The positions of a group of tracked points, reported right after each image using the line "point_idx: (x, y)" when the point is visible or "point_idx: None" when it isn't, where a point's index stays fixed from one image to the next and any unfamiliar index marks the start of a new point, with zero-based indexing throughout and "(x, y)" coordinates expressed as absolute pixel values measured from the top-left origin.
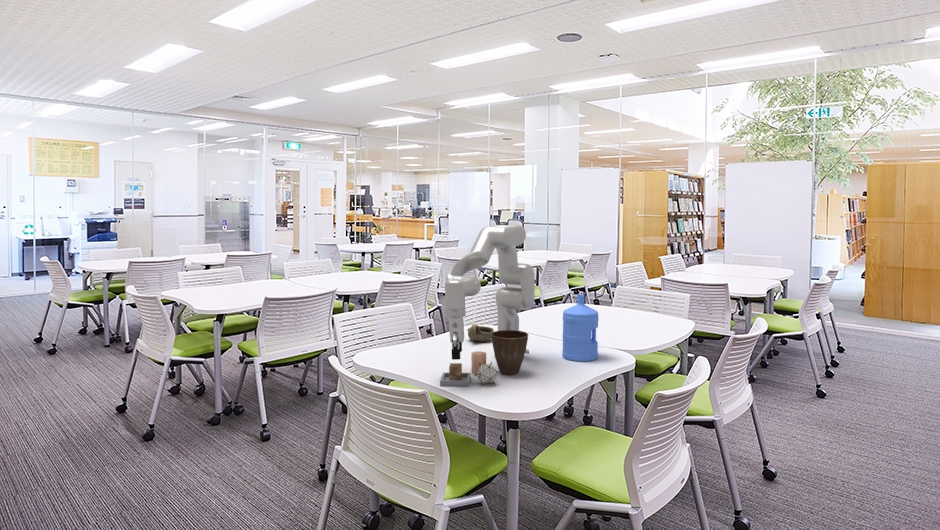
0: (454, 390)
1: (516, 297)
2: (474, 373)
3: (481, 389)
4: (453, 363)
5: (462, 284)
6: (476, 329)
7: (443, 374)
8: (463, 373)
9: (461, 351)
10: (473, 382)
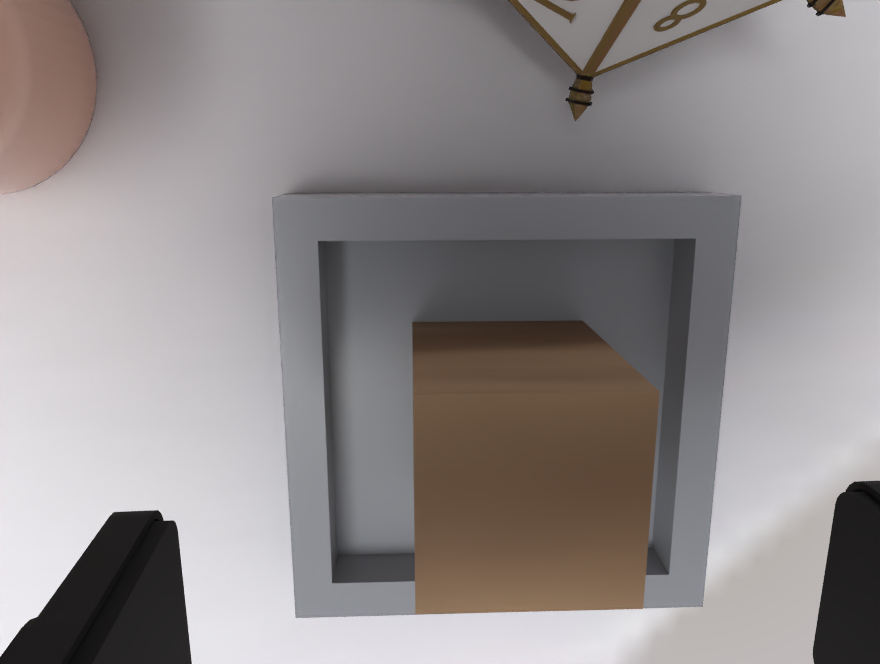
0: (862, 378)
1: None
2: (76, 141)
3: (857, 3)
4: (424, 554)
5: None
6: None
7: (396, 597)
8: (321, 314)
9: (159, 518)
10: (520, 139)
